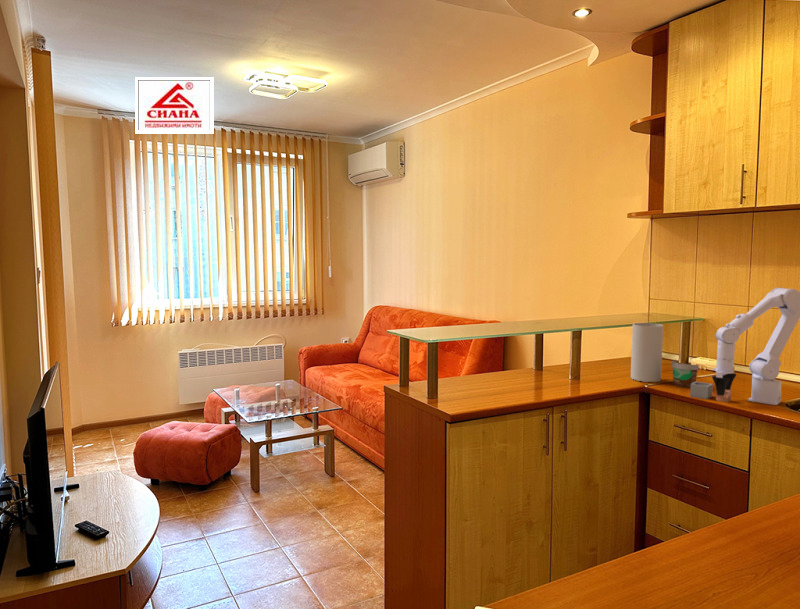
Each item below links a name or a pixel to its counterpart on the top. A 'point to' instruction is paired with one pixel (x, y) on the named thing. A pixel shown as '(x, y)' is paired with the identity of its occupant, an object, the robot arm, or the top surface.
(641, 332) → the cylinder vase
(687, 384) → the food container
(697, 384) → the socket base
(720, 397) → the terracotta cube
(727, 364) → the robot arm
